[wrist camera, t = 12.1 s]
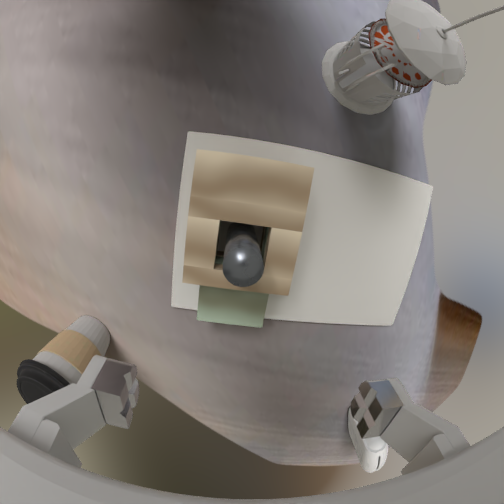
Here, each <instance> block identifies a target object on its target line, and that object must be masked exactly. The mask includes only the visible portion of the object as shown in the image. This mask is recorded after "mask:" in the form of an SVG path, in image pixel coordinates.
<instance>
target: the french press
mask: <svg viewBox="0 0 504 504" xmlns="http://www.w3.org/2000/svg"><path fill="white" fill-rule="evenodd" d="M501 10H504V6H501V7H498V8H495V9H492V10H490V11H487V12H484V13H482V14H480V15H477V16H475V17H472V18H470V19H467V20H465V21H463V22H460V23H458V24H456V25H454V26H452V25H451V23H449V21H448V20H447V19H446V18H445V17H443V16H442V15H441V14H440V13H439V12H438V11H436V10H435V9H434V8H433V7H431V6H430V5H429V4H427V3H425V2H423V1H421V0H390V1H389V4H388V6H387V9H386V12H385V15H386V19H380V20H378V21H377V22H371V23H370V24H368V25H366V26H365V27H364V28H366V27H371V29H370V30H368V29H364V28H362V29H361V31H360V32H358V33H357V34H358V35H357V34H356V35H355V36H354V37H353V38H352V39H351V40H350V41H347V42H340V43H337V44H335V45H334V46H332V47H331V48H330V49H328V50H327V52H326V54H325V56H324V58H323V61H322V76H323V79H324V81H325V83H326V85H327V88H328V90H329V92H330V93H331V94H332V95H333V96H334V97H335V98H336V99H337V100H338V102H339V103H340V104H341V105H343V106H345V107H347V108H348V109H350V110H352V111H354V112H355V113H361V114H367V115H373V114H377V113H380V112H384V111H385V110H386V109H387V108H388V107H389V106H390V105H391V104H392V102H393V100H394V99H397V98H400V97H403V95H404V96H407V95H410V92H411V88H412V87H413V88H414V91H413V93H416V92H419V91H420V90H421V89H422V88H423V87H424V86H427V85H428V84H429V83H430V82H431V81H432V80H434V81H437V82H439V83H442V84H444V85H450V84H457V83H458V82H459V81H460V80H461V79H462V78H463V77H464V76H465V70H466V64H467V61H466V56H465V51H464V47H463V45H462V43H461V41H460V39H459V37H458V35H457V33H456V31H455V28H457V27H459V26H462V25H464V24H466V23H469V22H471V21H474V20H476V19H479V18H481V17H484V16H486V15H489V14H492V13H495V12H498V11H501ZM362 31H363V32H368V33H369V35H366V34H361V32H362ZM360 36H363V37H366V38H369V41H368V40H365V39H361V38H360ZM355 37H356V38H355ZM353 40H354V41H353ZM359 41H362V42H365V43H367V44H370V47H369V46H367V45H366V44H362V43H359ZM395 80H397V81H398V86H397V91H396V82H395ZM401 84H403V88H402V92H400V86H401ZM406 85H407V86H408V90H407V93H404V92H405V89H406ZM413 93H411V94H413ZM398 95H400V96H398Z"/></svg>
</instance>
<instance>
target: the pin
mask: <svg viewBox="0 0 504 504" xmlns="http://www.w3.org/2000/svg"><path fill="white" fill-rule="evenodd" d="M263 272H264V263H263V259H262V256H261V252H260V248H259V244H258V240H257V237H256V233H255V229H254V227H253V225H251V224H244V223H237V222H233V223H231V224H230V226H229V227H228V230H227V236H226V244H225V251H224V259H223V274H224V276H225V278H226V279H227V280H228V281H229V282H230V283H231V284H233V285H235V286H238V287H248V286H251V285H253V284H255V283H256V282H258V281H259V280H260V278H261V277H262V275H263Z"/></svg>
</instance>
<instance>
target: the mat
mask: <svg viewBox="0 0 504 504" xmlns="http://www.w3.org/2000/svg"><path fill="white" fill-rule="evenodd" d="M197 149H200V150H209V151H218V152H225V153H233V154H240V155H247V156H253V157H259V158H266V159H271V160H277V161H283V162H288V163H293V164H298V165H303V166H308V167H313V168H314V173H313V179H312V184H311V190H310V195H309V201H308V206H307V211H306V216H305V221H304V226H303V231H302V236H301V241H300V245H299V250H298V255H297V259H296V264H295V268H294V273H293V277H292V282H291V286H290V291H289V295H288V296H285V295H276V294H269V297H268V302H267V306H266V311H265V316H264V318H266V319H276V320H288V321H300V322H315V323H331V324H352V325H384V326H392V325H393V322H394V320H395V317H396V315H397V312H398V310H399V307H400V304H401V302H402V299H403V296H404V293H405V291H406V288H407V285H408V282H409V279H410V276H411V273H412V270H413V266H414V263H415V260H416V257H417V253H418V250H419V246H420V242H421V239H422V235H423V231H424V227H425V223H426V219H427V214H428V210H429V205H430V200H431V195H432V189H433V186H431V185H428V184H426V183H423V182H420V181H417V180H414V179H411V178H409V177H406V176H403V175H400V174H397V173H394V172H390V171H387V170H384V169H381V168H377V167H374V166H371V165H367V164H364V163H360V162H357V161H353V160H349V159H345V158H342V157H338V156H334V155H329V154H325V153H321V152H317V151H312V150H308V149H303V148H298V147H293V146H288V145H283V144H278V143H272V142H267V141H261V140H255V139H248V138H242V137H235V136H227V135H219V134H211V133H201V132H191V131H188V136H187V142H186V148H185V155H184V162H183V169H182V177H181V185H180V194H179V203H178V212H177V222H176V234H175V246H174V260H173V277H172V300H171V307H177V308H184V309H191V310H198V298H199V287H200V285H195V284H188V283H182V280H183V266H184V253H185V242H186V231H187V221H188V212H189V203H190V195H191V187H192V179H193V172H194V165H195V158H196V151H197ZM231 223H233V222H229V221H222V220H221V226H220V234H219V241H218V249H217V251H225V244H226V236H227V230H228V227H229V226H230V224H231ZM253 227H254V229H255V233H256V237H257V240H258V244H259V248H260V244H261V238H262V232H263V226H258V225H253Z"/></svg>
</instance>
